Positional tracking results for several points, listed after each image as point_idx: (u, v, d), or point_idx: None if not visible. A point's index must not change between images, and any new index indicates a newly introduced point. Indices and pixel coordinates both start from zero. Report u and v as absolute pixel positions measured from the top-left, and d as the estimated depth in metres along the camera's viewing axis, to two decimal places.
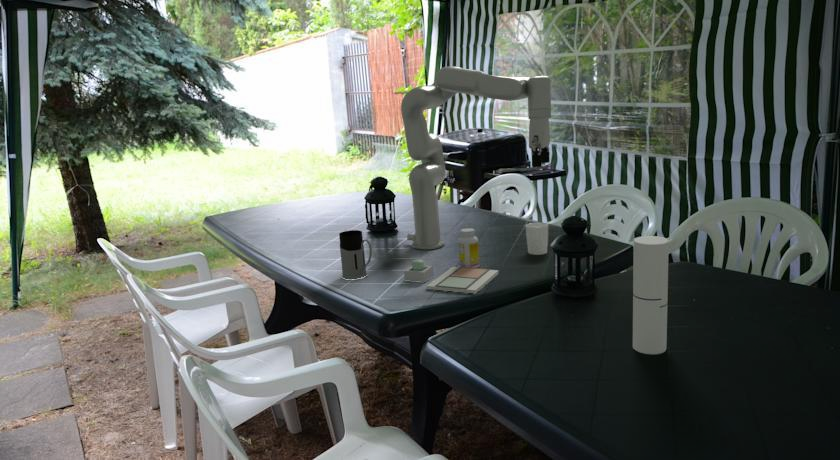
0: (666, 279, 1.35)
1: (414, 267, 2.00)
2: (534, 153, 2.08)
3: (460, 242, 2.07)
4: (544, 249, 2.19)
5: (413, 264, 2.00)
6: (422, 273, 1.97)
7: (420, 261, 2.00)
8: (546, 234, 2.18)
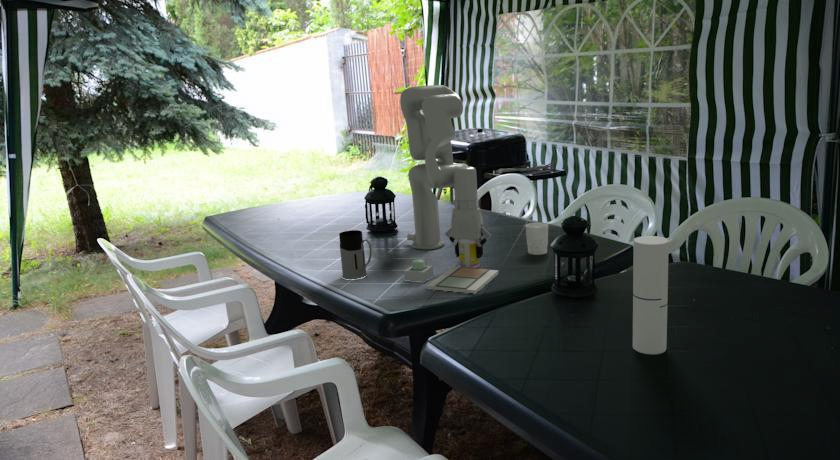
0: (666, 279, 1.35)
1: (414, 267, 2.00)
2: None
3: (460, 241, 2.07)
4: (544, 249, 2.19)
5: (413, 264, 2.00)
6: (422, 273, 1.97)
7: (420, 261, 2.00)
8: (546, 234, 2.18)
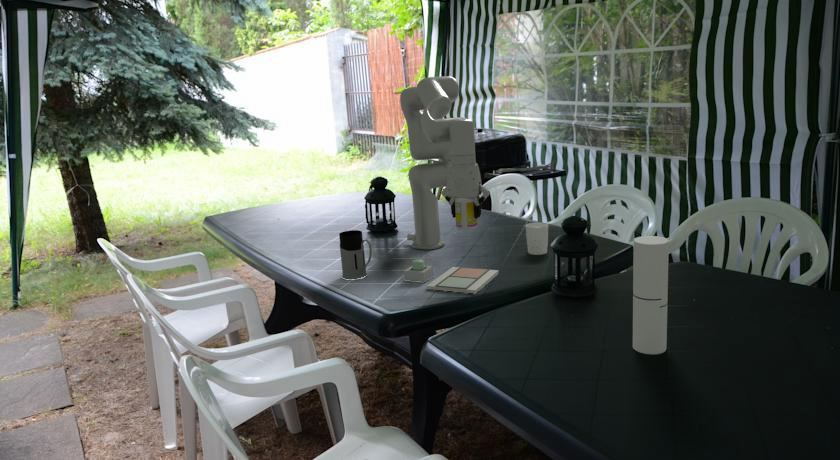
0: (666, 279, 1.35)
1: (414, 267, 2.00)
2: (481, 202, 1.92)
3: (457, 200, 1.93)
4: (544, 249, 2.19)
5: (413, 264, 2.00)
6: (422, 273, 1.97)
7: (420, 261, 2.00)
8: (546, 234, 2.18)
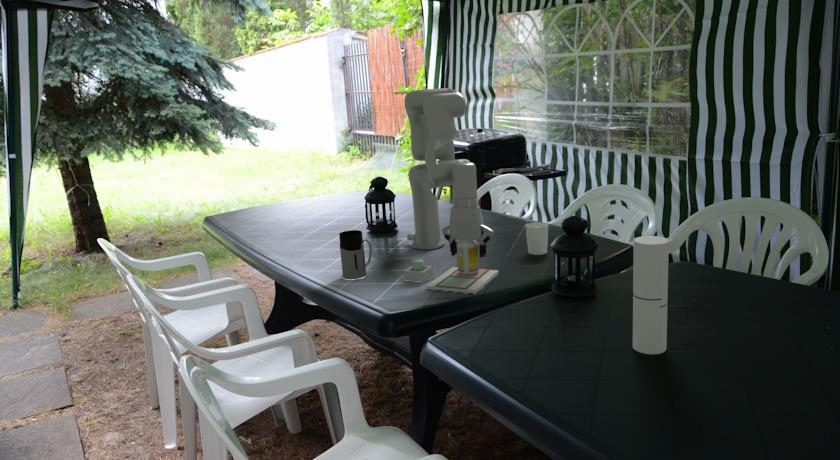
0: (666, 279, 1.35)
1: (414, 267, 2.00)
2: (486, 242, 1.95)
3: (459, 246, 1.96)
4: (544, 249, 2.19)
5: (413, 264, 2.00)
6: (422, 273, 1.97)
7: (420, 261, 2.00)
8: (546, 234, 2.18)
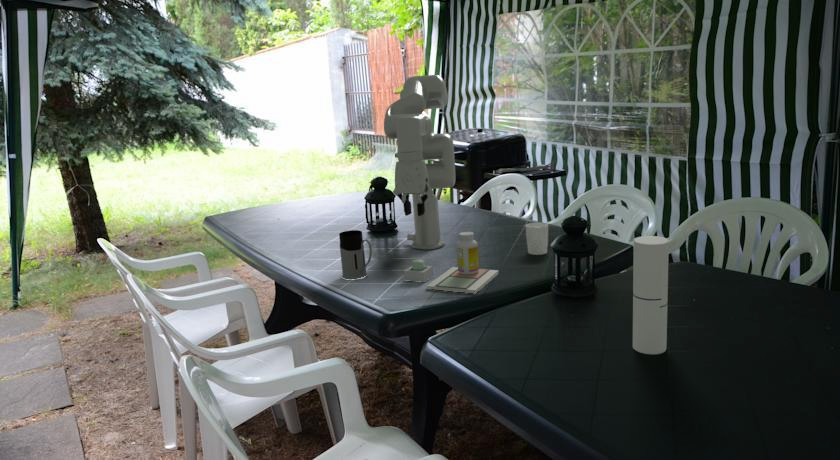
0: (666, 279, 1.35)
1: (414, 267, 2.00)
2: (424, 200, 1.94)
3: (459, 246, 1.96)
4: (544, 249, 2.19)
5: (413, 264, 2.00)
6: (422, 273, 1.97)
7: (420, 261, 2.00)
8: (546, 234, 2.18)
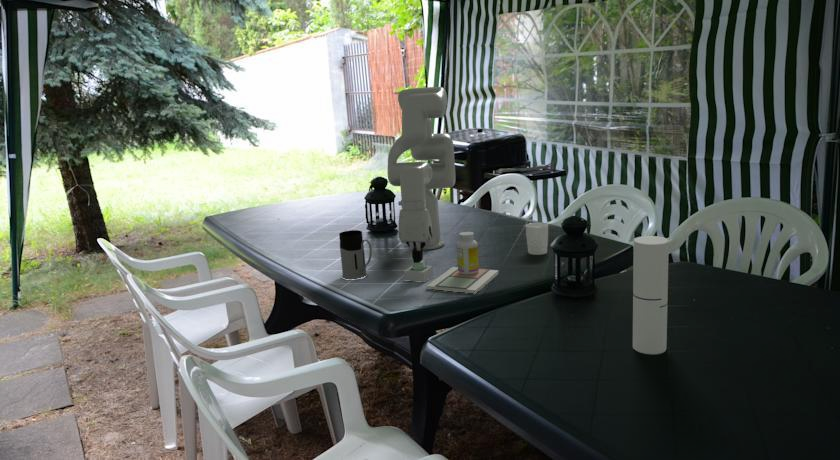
0: (666, 279, 1.35)
1: (414, 267, 2.00)
2: (422, 247, 1.98)
3: (459, 246, 1.96)
4: (544, 249, 2.19)
5: (413, 264, 2.00)
6: (422, 273, 1.97)
7: (420, 261, 2.00)
8: (546, 234, 2.18)
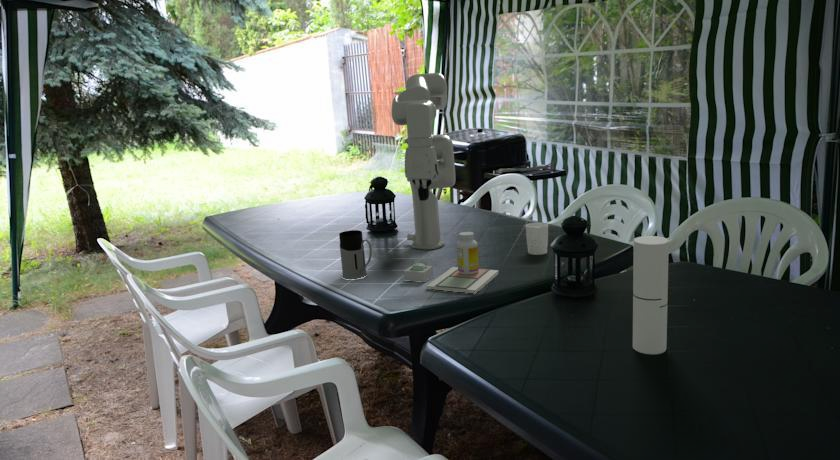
0: (666, 279, 1.35)
1: None
2: (428, 185, 1.99)
3: (459, 246, 1.96)
4: (544, 249, 2.19)
5: (413, 268, 2.00)
6: (422, 273, 1.97)
7: (420, 265, 2.01)
8: (546, 234, 2.18)
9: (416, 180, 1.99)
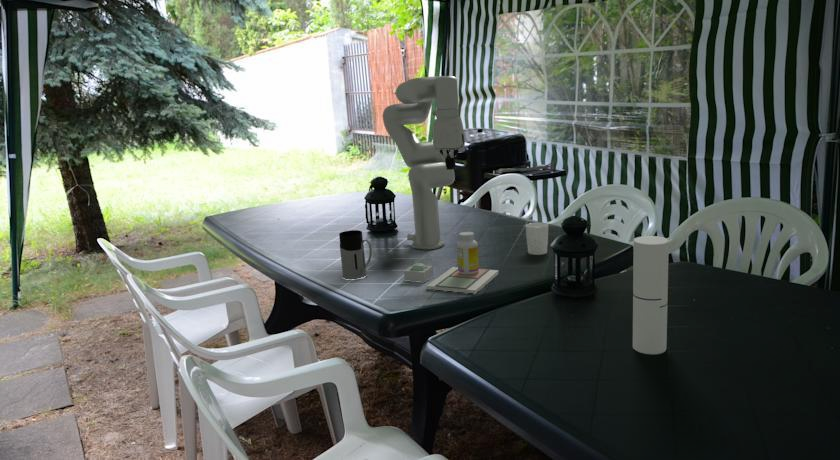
0: (666, 279, 1.35)
1: None
2: (455, 155, 2.11)
3: (459, 246, 1.96)
4: (544, 249, 2.19)
5: (413, 268, 2.00)
6: (422, 273, 1.97)
7: (420, 265, 2.01)
8: (546, 234, 2.18)
9: (443, 150, 2.11)
